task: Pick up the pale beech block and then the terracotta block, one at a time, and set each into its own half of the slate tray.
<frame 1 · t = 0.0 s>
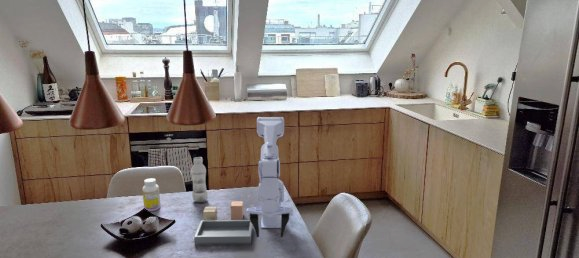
hand: (269, 235, 130), 10 cm above the table, tool pointing down, fingers open, 7 cm apart
plastic bottle: (200, 201, 180), on the table
supplement bottle: (152, 208, 173), on the table
terracotta block: (237, 217, 165), on the table
beech block: (210, 223, 160), on the table
slate tray: (224, 236, 149), on the table
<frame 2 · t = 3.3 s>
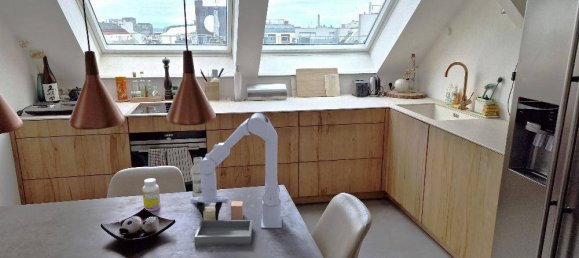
hand: (210, 219, 160), 1 cm above the table, tool pointing down, fingers closed on beech block, 4 cm apart
beech block: (210, 223, 160), on the table, touching gripper
everything else where it was.
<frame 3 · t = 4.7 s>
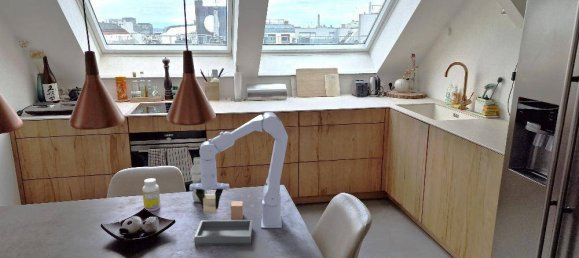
hand: (210, 207, 154), 8 cm above the table, tool pointing down, fingers closed on beech block, 4 cm apart
beech block: (210, 211, 155), point 7 cm above the table, touching gripper
everything else where it was.
when the fingers open (5 cm above the table, at t = 6.2 s): beech block drops 2 cm, resting on slate tray.
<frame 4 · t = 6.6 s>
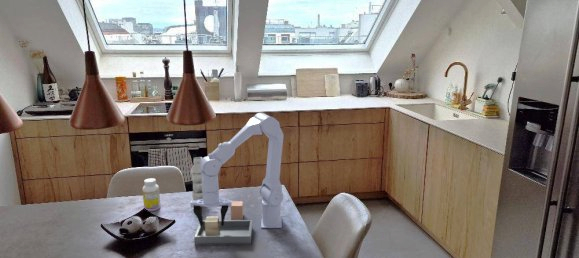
hand: (212, 224, 148), 5 cm above the table, tool pointing down, fingers open, 7 cm apart
beech block: (212, 234, 149), point 1 cm above the table, touching slate tray
everything else where it was.
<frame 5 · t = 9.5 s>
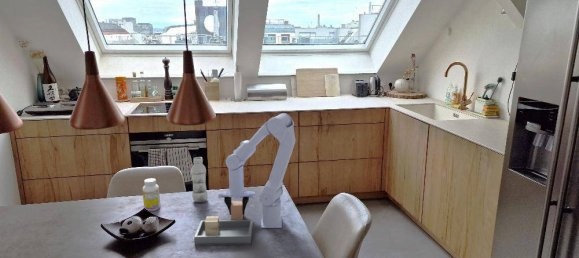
hand: (237, 213, 165), 1 cm above the table, tool pointing down, fingers closed on terracotta block, 4 cm apart
terracotta block: (237, 217, 165), on the table, touching gripper
everything else where it was.
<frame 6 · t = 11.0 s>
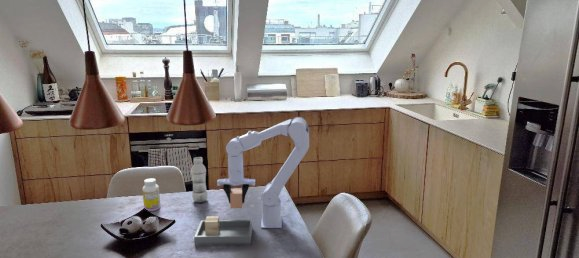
hand: (236, 202, 159), 8 cm above the table, tool pointing down, fingers closed on terracotta block, 4 cm apart
terracotta block: (237, 205, 159), point 7 cm above the table, touching gripper
everything else where it was.
when the fingers open (5 cm above the table, at t = 12.8 s): terracotta block drops 2 cm, resting on slate tray.
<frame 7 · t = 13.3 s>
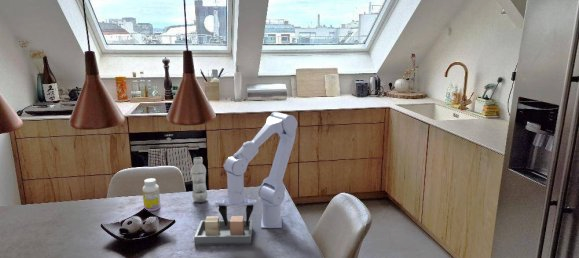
hand: (236, 224, 148), 5 cm above the table, tool pointing down, fingers open, 7 cm apart
terracotta block: (237, 233, 150), point 1 cm above the table, touching slate tray
everything else where it was.
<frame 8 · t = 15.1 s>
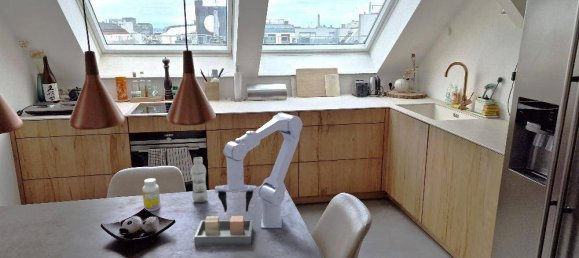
hand: (236, 210, 147), 10 cm above the table, tool pointing down, fingers open, 7 cm apart
nothing on the table moved.
at the end: beech block inside the target area on the slate tray (4.5 cm from its centre), point 1.0 cm above the slate tray's base; terracotta block inside the target area on the slate tray (4.5 cm from its centre), point 1.0 cm above the slate tray's base; the gripper is holding nothing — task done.
